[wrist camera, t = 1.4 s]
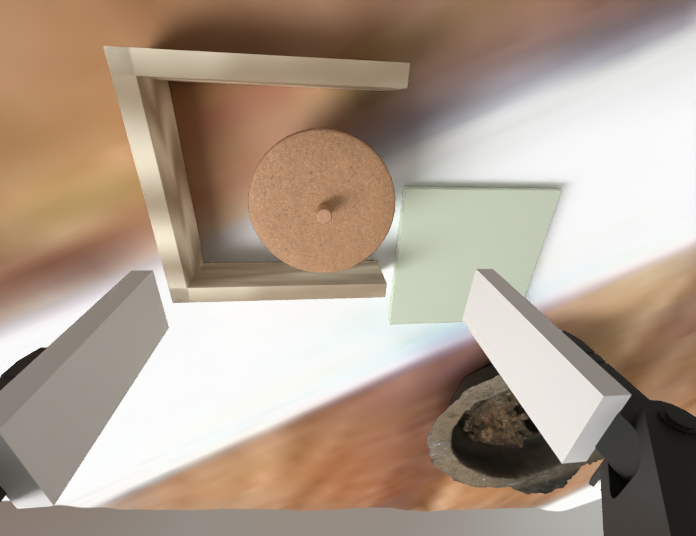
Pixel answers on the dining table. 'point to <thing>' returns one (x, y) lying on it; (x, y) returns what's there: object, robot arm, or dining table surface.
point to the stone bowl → (495, 440)
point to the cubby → (171, 179)
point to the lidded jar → (321, 200)
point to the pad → (464, 246)
